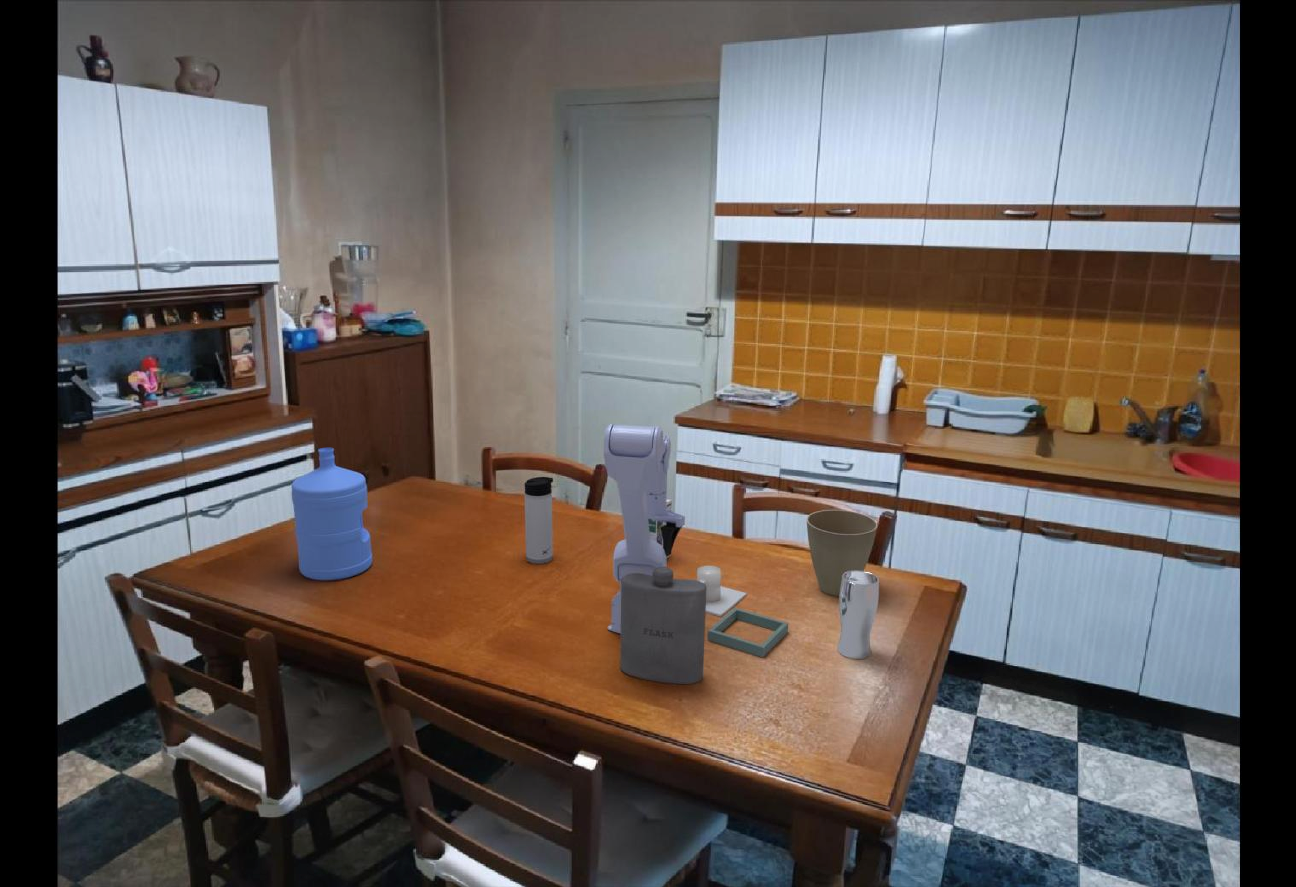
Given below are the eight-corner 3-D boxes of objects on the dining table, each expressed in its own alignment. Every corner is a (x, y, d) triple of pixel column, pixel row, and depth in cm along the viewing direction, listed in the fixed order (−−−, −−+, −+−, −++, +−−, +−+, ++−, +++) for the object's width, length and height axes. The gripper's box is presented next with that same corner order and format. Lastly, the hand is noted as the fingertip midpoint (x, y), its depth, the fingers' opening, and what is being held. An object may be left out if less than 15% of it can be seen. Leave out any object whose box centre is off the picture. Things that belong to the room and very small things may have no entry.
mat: (720, 617, 162) (720, 614, 162) (670, 602, 168) (670, 599, 168) (746, 595, 172) (746, 593, 172) (697, 581, 178) (697, 579, 178)
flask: (615, 676, 140) (616, 571, 135) (624, 659, 146) (625, 557, 140) (699, 689, 137) (703, 581, 132) (705, 671, 142) (709, 567, 137)
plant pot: (815, 569, 186) (820, 505, 181) (878, 584, 178) (885, 517, 174) (791, 593, 173) (796, 524, 169) (859, 610, 166) (866, 539, 162)
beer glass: (844, 638, 155) (851, 566, 151) (879, 650, 150) (886, 576, 147) (828, 652, 149) (834, 578, 146) (863, 664, 145) (870, 589, 141)
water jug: (324, 588, 172) (312, 463, 164) (285, 569, 181) (272, 450, 174) (386, 565, 184) (378, 448, 177) (347, 548, 193) (337, 436, 186)
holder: (763, 657, 147) (763, 647, 147) (707, 640, 153) (707, 630, 152) (787, 632, 157) (788, 622, 156) (734, 616, 163) (734, 607, 162)
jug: (704, 588, 173) (704, 563, 171) (724, 594, 171) (725, 569, 169) (689, 601, 168) (689, 575, 166) (710, 607, 165) (710, 581, 163)
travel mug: (552, 564, 186) (551, 482, 181) (524, 564, 186) (522, 482, 181) (555, 554, 192) (554, 474, 187) (528, 553, 192) (526, 474, 187)
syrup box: (638, 559, 190) (639, 501, 186) (650, 551, 195) (651, 494, 191) (659, 564, 187) (661, 506, 183) (671, 556, 192) (672, 498, 188)
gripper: (692, 492, 167) (690, 552, 170) (634, 479, 174) (633, 538, 178) (675, 501, 161) (673, 563, 164) (616, 488, 168) (615, 548, 172)
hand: (651, 551), depth 171 cm, fingers open, 7 cm apart
